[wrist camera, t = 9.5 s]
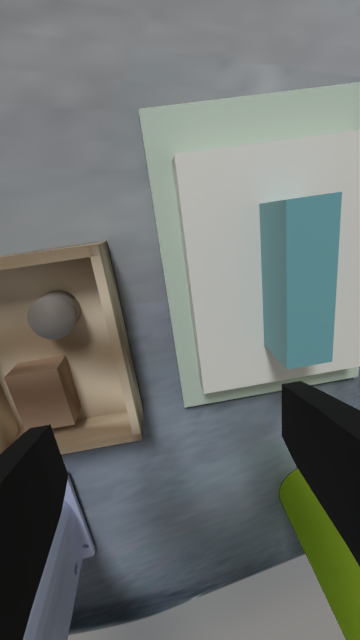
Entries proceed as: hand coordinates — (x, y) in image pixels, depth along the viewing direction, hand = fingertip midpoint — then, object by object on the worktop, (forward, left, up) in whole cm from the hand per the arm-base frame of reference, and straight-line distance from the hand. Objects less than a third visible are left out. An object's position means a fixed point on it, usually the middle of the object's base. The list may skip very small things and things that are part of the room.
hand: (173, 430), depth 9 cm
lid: (+2, -7, -9) cm, 11 cm away
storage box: (-1, +7, -10) cm, 12 cm away
